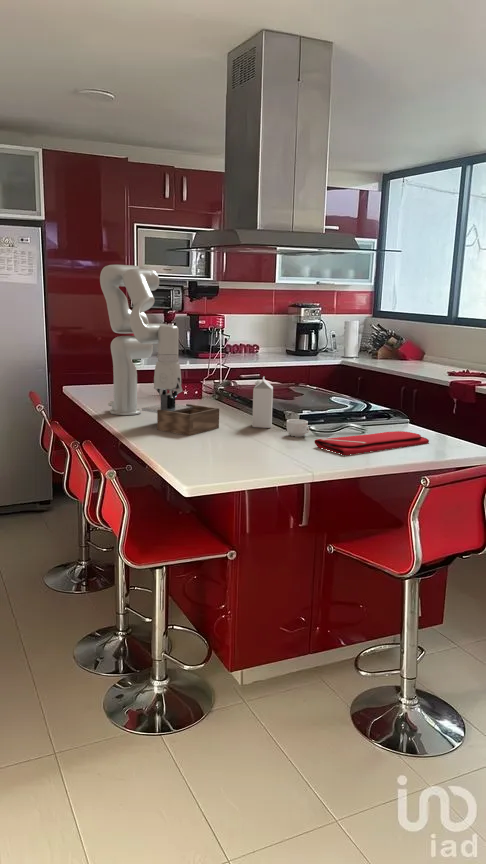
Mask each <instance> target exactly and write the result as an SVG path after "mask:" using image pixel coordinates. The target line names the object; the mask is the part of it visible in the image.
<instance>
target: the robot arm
mask: <svg viewBox="0 0 486 864" xmlns="http://www.w3.org/2000/svg"><path fill="white" fill-rule="evenodd" d="M99 283H100V288H101V291H102V293H103V296H104V299H105V302H106V308H107V313H108V318H109V324H110V327H111V330H112V332H113V333H116V334H133V335H121V336H120V335H119V336H116V337H115V338H113V339H112V341H111V342H110V353H111V359H112V366H113V367H112V371H113V400H111V401H109V402H108V403H107V405H108V406H109V407H111V409H110V410H109V413H110V414H111V415H115V416H135V415H140V414H141V412H142V409H140V408H138V371H137V370H138V369H137V367H136V366H135V364H134V362H133V361H132V360H144V359H148V358H151V356H152V355H153V350H154V347H153V346H154V345H153V344H155V345H157V353H158V354H157V355H156V356H155V357H156V359H157V361H156V362H155V366H154V367H155V368H154V376H153V389H154V390H155V391H157V393H158V394H159V395H158V396H159V397H160V398H161V394H167V393H170V398H169V408H175V404H176V398H177V396H178V395H179V394H180V393H182V392H183V387H182V372H181V365H180V362H179V331H180V329H179V327H178V326H177V325H171V324H168V323H167V324H166V323H150V322H149V318H148V316H147V314H146V313H145V312H146V311H148V310H150V309H151V308H152V307H154V304H155V297H154V295H153V293H152V291H156V290H157V289H158V288H159V286H160V277H159V275H158V273H157V272H156V270H154V269H152V268H148V267H144V266H141V265H129V264H128V265H127V264H109V265H105V266H104V267H103V268H102V269H101V271H100V276H99ZM120 287H125V288H126V291H127V294H128V297H129V298H130V299H129V300H130V301H131V303H132V306H133V307H132V309H130V307H129V306H130V305H129V303H128V302H129V301H128V298H127V296H126V295H125V293H124V292H123V291H122V290H121V289H120ZM167 390H168V391H169V392H167Z"/></svg>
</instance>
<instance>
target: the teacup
mask: <svg viewBox="0 0 486 864" xmlns="http://www.w3.org/2000/svg"><path fill="white" fill-rule="evenodd" d="M308 424H309V421H308V420H305V419H300V418H299V419H297V418H296V419H294V418H291V419H287V420H286V432H287V434H288V435H289V436H290V435H291V437H293V436H295V437H294V438H302V437H304V436H305V435H306V434H308V433H309V431H310V427H309V425H308Z"/></svg>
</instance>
